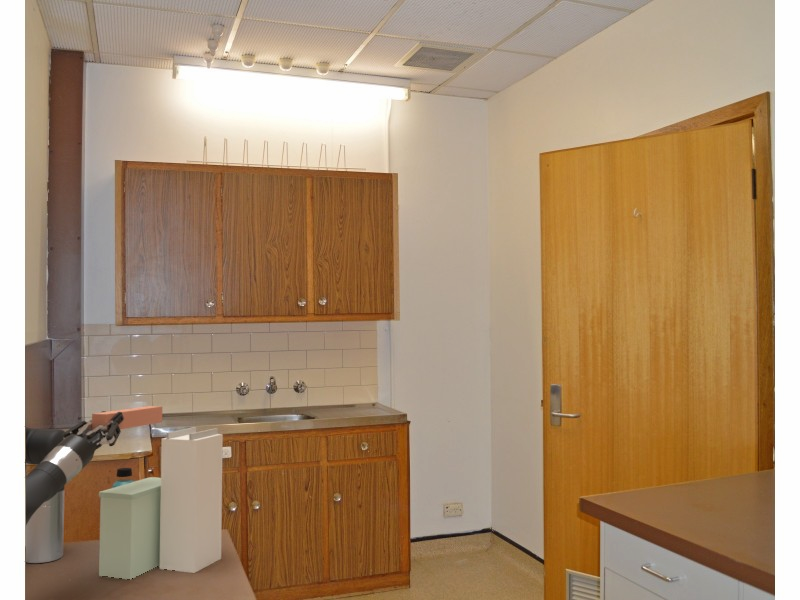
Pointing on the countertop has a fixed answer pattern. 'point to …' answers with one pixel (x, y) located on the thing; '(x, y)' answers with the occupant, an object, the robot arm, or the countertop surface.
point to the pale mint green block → (130, 529)
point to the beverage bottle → (123, 473)
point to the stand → (191, 499)
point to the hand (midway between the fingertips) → (113, 414)
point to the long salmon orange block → (130, 417)
